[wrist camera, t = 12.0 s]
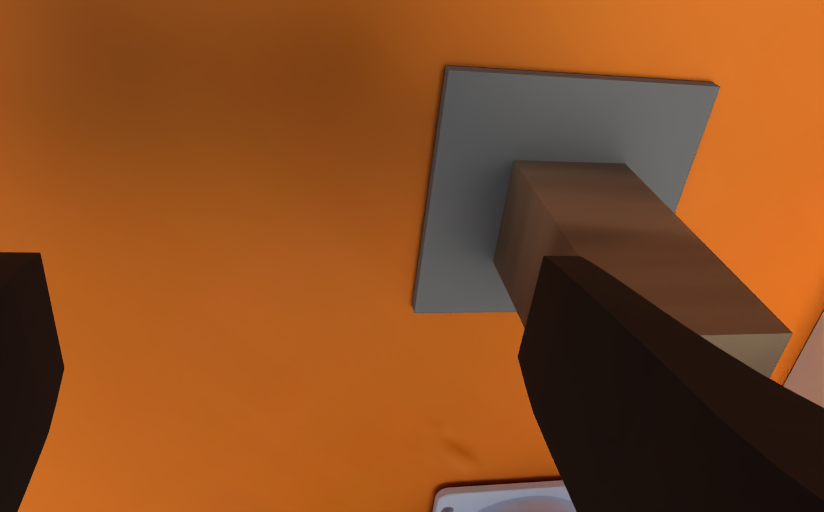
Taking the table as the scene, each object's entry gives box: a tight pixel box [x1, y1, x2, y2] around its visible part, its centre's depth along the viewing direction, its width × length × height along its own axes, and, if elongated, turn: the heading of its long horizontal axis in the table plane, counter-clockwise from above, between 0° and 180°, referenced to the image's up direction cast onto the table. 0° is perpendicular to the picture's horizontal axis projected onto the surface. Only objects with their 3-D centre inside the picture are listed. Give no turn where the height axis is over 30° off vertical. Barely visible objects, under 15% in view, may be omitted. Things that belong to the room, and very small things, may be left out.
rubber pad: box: [412, 66, 720, 313], centre depth 21 cm, size 8×8×1 cm
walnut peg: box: [493, 160, 793, 378], centre depth 18 cm, size 4×4×8 cm
